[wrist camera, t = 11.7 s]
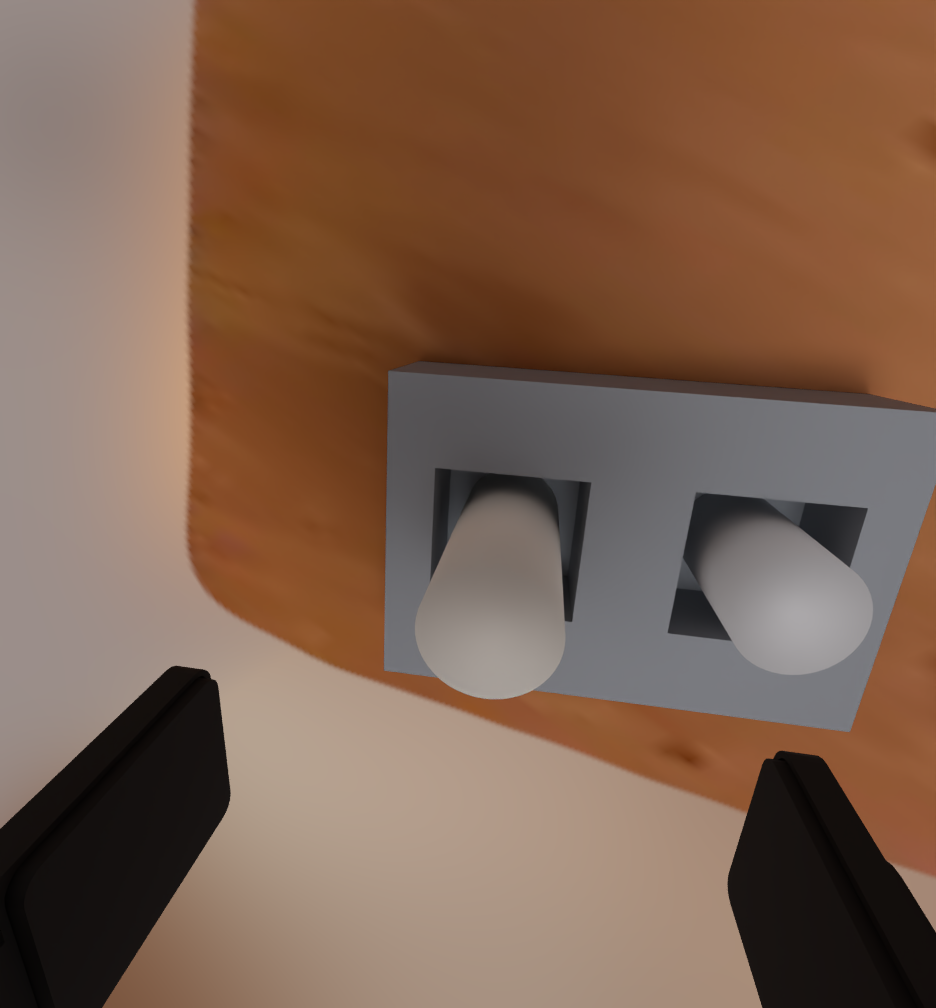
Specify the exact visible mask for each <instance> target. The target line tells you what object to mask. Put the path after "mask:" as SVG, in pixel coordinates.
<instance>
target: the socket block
mask: <svg viewBox="0 0 936 1008" xmlns="http://www.w3.org/2000/svg"><path fill="white" fill-rule="evenodd" d="M488 473H495V474H506V475H516V476H527V477H538V478H542V479H543V480H544V481H545V482H546V483H547V484H548V485H549V486H550V488H551V489H552V491H553V493H554V495H555V497H556V500H557V504H558V514H559V532H560V549H561V567H562V584H563V602H564V619H565V648H564V652H563V656H562V658H561V661H560V663H559V665H558V666H557V668H556V670H555V671H554V672H553V674H552V675H551V676H550V677H549V678H548V679H547V680H546V681H545V682H544V683H543V684H541V685H540V686H539V687H537V688H536V689H534V690H536V691H543V692H551V693H559V694H566V695H574V696H581V697H589V698H596V699H604V700H611V701H619V702H627V703H634V704H642V705H649V706H657V707H664V708H672V709H680V710H687V711H695V712H702V713H710V714H717V715H725V716H732V717H740V718H748V719H755V720H763V721H770V722H778V723H785V724H793V725H801V726H808V727H816V728H823V729H831V730H838V731H846V732H850V730H851V727H852V724H853V721H854V718H855V715H856V713H857V710H858V707H859V704H860V701H861V698H862V695H863V692H864V689H865V687H866V684H867V681H868V678H869V675H870V672H871V669H872V666H873V663H874V661H875V658H876V655H877V652H878V649H879V646H880V643H881V640H882V637H883V635H884V632H885V629H886V626H887V623H888V620H889V617H890V614H891V611H892V609H893V606H894V603H895V600H896V597H897V594H898V591H899V588H900V585H901V583H902V580H903V577H904V574H905V571H906V568H907V565H908V562H909V559H910V557H911V554H912V551H913V548H914V545H915V542H916V539H917V536H918V533H919V531H920V528H921V525H922V522H923V519H924V516H925V513H926V510H927V507H928V505H929V502H930V499H931V496H932V493H933V490H934V487H935V484H936V409H934V408H930V407H925V406H921V405H916V404H912V403H907V402H902V401H898V400H893V399H889V398H884V397H880V396H875V395H871V394H860V393H847V392H833V391H819V390H806V389H792V388H778V387H765V386H751V385H738V384H724V383H710V382H697V381H683V380H670V379H656V378H642V377H629V376H615V375H601V374H588V373H574V372H561V371H547V370H533V369H520V368H506V367H492V366H479V365H465V364H452V363H438V362H424V361H418V362H415V363H412V364H409V365H406V366H402V367H399V368H396V369H393V370H390V371H388V434H387V502H386V569H385V637H384V670H385V671H392V672H400V673H407V674H415V675H422V676H430V677H437V676H436V675H435V674H434V673H433V672H432V671H431V669H430V668H429V667H428V666H427V664H426V663H425V661H424V660H423V658H422V656H421V653H420V651H419V649H418V645H417V642H416V636H415V620H416V615H417V611H418V608H419V606H420V604H421V601H422V599H423V597H424V595H425V592H426V590H427V588H428V586H429V583H430V581H431V579H432V577H433V575H434V572H435V570H436V568H437V566H438V563H439V561H440V559H441V557H442V554H443V552H444V550H445V548H446V545H447V543H448V541H449V539H450V537H451V534H452V532H453V530H454V528H455V525H456V523H457V521H458V519H459V516H460V514H461V512H462V510H463V508H464V505H465V503H466V501H467V499H468V496H469V494H470V492H471V490H472V488H473V487H474V485H475V484H476V483H477V482H478V481H479V480H480V479H481V478H482V477H484V476H485V475H487V474H488Z"/></svg>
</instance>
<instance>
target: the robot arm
mask: <svg viewBox="0 0 936 1008" xmlns="http://www.w3.org/2000/svg"><path fill="white" fill-rule="evenodd" d="M229 801H230V784H229V775H228V767H227V759H226V750H225V741H224V733H223V724H222V715H221V707H220V698H219V690H218V684H217V682H216V681H215V680H212V679H211V678H210V674H209V672H208V671H206V670H203V669H195V668H188V667H181V666H173V667H171V668H169V669H168V670H167V671H166V672H164V673H163V674H162V675H161V677H159V678H158V679H157V680H156V681H155V682H154V683H153V684H152V685H151V686H150V687H149V688H148V689H147V690H146V691H145V692H143V694H142V695H140V696H139V697H138V698H137V699H136V700H135V701H134V702H133V703H132V704H131V705H130V706H129V707H128V708H127V709H126V710H125V711H124V712H122V714H120V715H119V716H118V717H117V718H116V719H115V720H114V721H113V722H112V723H111V724H110V725H109V726H108V727H107V728H106V729H105V730H104V731H103V732H102V733H100V734H99V735H98V736H97V737H96V738H95V739H94V740H93V741H92V742H91V743H90V744H89V745H88V746H87V747H86V748H85V749H84V750H83V751H82V752H80V753H79V754H78V755H77V757H75V758H74V759H73V760H72V761H71V762H70V763H69V764H68V765H67V766H66V767H65V768H64V769H63V770H62V771H61V772H60V773H58V774H57V775H56V776H55V777H54V778H53V779H52V780H51V781H50V782H49V783H48V784H47V785H46V786H45V787H44V788H43V789H42V790H41V791H40V792H39V793H38V794H37V795H35V796H34V797H33V798H32V799H31V800H30V801H29V802H28V803H27V804H26V805H25V806H24V807H23V808H22V809H21V810H20V811H19V812H18V813H16V814H15V815H14V816H13V817H12V818H11V819H10V820H9V821H8V822H7V823H6V824H5V825H4V826H3V827H2V828H1V829H0V1008H102V1007H103V1005H104V1004H105V1002H106V1000H107V999H108V997H109V996H110V994H111V993H112V991H113V990H114V988H115V986H116V985H117V983H118V982H119V980H120V979H121V977H122V975H123V974H124V972H125V971H126V969H127V968H128V966H129V964H130V963H131V961H132V960H133V958H134V957H135V955H136V953H137V952H138V950H139V949H140V947H141V946H142V944H143V942H144V941H145V939H146V938H147V936H148V934H149V933H150V931H151V930H152V928H153V927H154V925H155V923H156V922H157V920H158V918H159V917H160V916H161V914H162V912H163V911H164V909H165V908H166V906H167V905H168V903H169V902H170V900H171V898H172V897H173V895H174V894H175V892H176V891H177V889H178V887H179V886H180V884H181V883H182V881H183V879H184V878H185V876H186V875H187V873H188V872H189V870H190V869H191V867H192V865H193V864H194V862H195V861H196V859H197V858H198V856H199V854H200V853H201V851H202V850H203V848H204V847H205V845H206V843H207V842H208V840H209V839H210V837H211V835H212V834H213V832H214V831H215V829H216V828H217V826H218V825H219V823H220V821H221V820H222V818H223V816H224V815H225V813H226V811H227V808H228V805H229ZM728 894H729V899H730V904H731V907H732V910H733V913H734V917H735V920H736V923H737V926H738V930H739V933H740V936H741V940H742V943H743V946H744V949H745V953H746V955H747V958H748V962H749V966H750V969H751V972H752V975H753V979H754V982H755V985H756V988H757V992H758V995H759V998H760V1001H761V1005H762V1008H936V932H935V930H934V929H933V927H932V926H931V924H930V922H929V921H928V919H927V918H926V916H925V914H924V913H923V911H922V910H921V908H920V906H919V905H918V903H917V901H916V900H915V898H914V897H913V895H912V893H911V892H910V890H909V889H908V887H907V885H906V884H905V882H904V881H903V879H902V877H901V876H900V875H899V873H898V872H897V871H896V869H895V868H894V867H893V866H892V865H891V864H890V863H888V862H887V861H886V860H885V858H884V857H883V855H882V854H881V852H880V850H879V849H878V847H877V845H876V844H875V842H874V840H873V839H872V837H871V836H870V834H869V832H868V831H867V829H866V827H865V826H864V824H863V823H862V821H861V819H860V818H859V816H858V814H857V813H856V811H855V809H854V808H853V806H852V805H851V803H850V801H849V800H848V798H847V796H846V795H845V793H844V791H843V790H842V788H841V787H840V785H839V783H838V782H837V780H836V778H835V777H834V775H833V774H832V772H831V770H830V769H829V767H828V765H827V764H826V763H825V761H824V760H823V759H822V758H821V757H819V756H815V755H808V754H801V753H794V752H787V751H779V752H777V753H776V755H775V757H774V759H766V760H765V761H764V762H763V764H762V768H761V771H760V774H759V777H758V781H757V784H756V787H755V790H754V793H753V797H752V800H751V803H750V806H749V810H748V813H747V816H746V820H745V823H744V826H743V829H742V833H741V836H740V839H739V842H738V845H737V849H736V852H735V855H734V858H733V862H732V865H731V868H730V871H729V875H728Z"/></svg>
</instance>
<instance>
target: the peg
mask: <svg viewBox="0 0 936 1008" xmlns="http://www.w3.org/2000/svg"><path fill="white" fill-rule="evenodd" d="M415 636H416V642H417V645H418V649H419V651H420V653H421V656H422V658H423V660H424V661H425V663H426V664H427V666H428V667H429V668H430V669H431V671H432V672H433V673H434V674H435V675H436V676H437V677H438V678H439V679H440V680H442V681H443V682H444V683H446V684H447V685H449V686H450V687H452V688H454V689H456V690H458V691H460V692H462V693H464V694H467V695H471V696H474V697H479V698H484V699H506V698H512V697H516V696H520V695H523V694H525V693H528V692H530V691H532V690H534V689H536V688H537V687H539V686H540V685H541V684H543V683H544V682H545V681H546V680H547V679H548V678H549V677H550V676H551V675H552V674H553V672H554V671H555V670H556V668H557V666H558V665H559V663H560V661H561V658H562V656H563V652H564V648H565V619H564V602H563V584H562V567H561V549H560V532H559V514H558V504H557V500H556V497H555V495H554V493H553V491H552V489H551V488H550V486H549V485H548V484H547V483H546V482H545V481H544V480H543V479H542V478H538V477H527V476H516V475H506V474H495V473H488V474H487V475H485V476H484V477H482V478H481V479H480V480H479V481H478V482H477V483H476V484H475V485H474V487H473V488H472V490H471V492H470V494H469V496H468V499H467V501H466V503H465V505H464V508H463V510H462V512H461V514H460V516H459V519H458V521H457V523H456V525H455V528H454V530H453V532H452V534H451V537H450V539H449V541H448V543H447V545H446V548H445V550H444V552H443V554H442V557H441V559H440V561H439V563H438V566H437V568H436V570H435V572H434V575H433V577H432V579H431V581H430V583H429V586H428V588H427V590H426V592H425V595H424V597H423V599H422V601H421V604H420V606H419V608H418V611H417V615H416V620H415Z"/></svg>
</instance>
